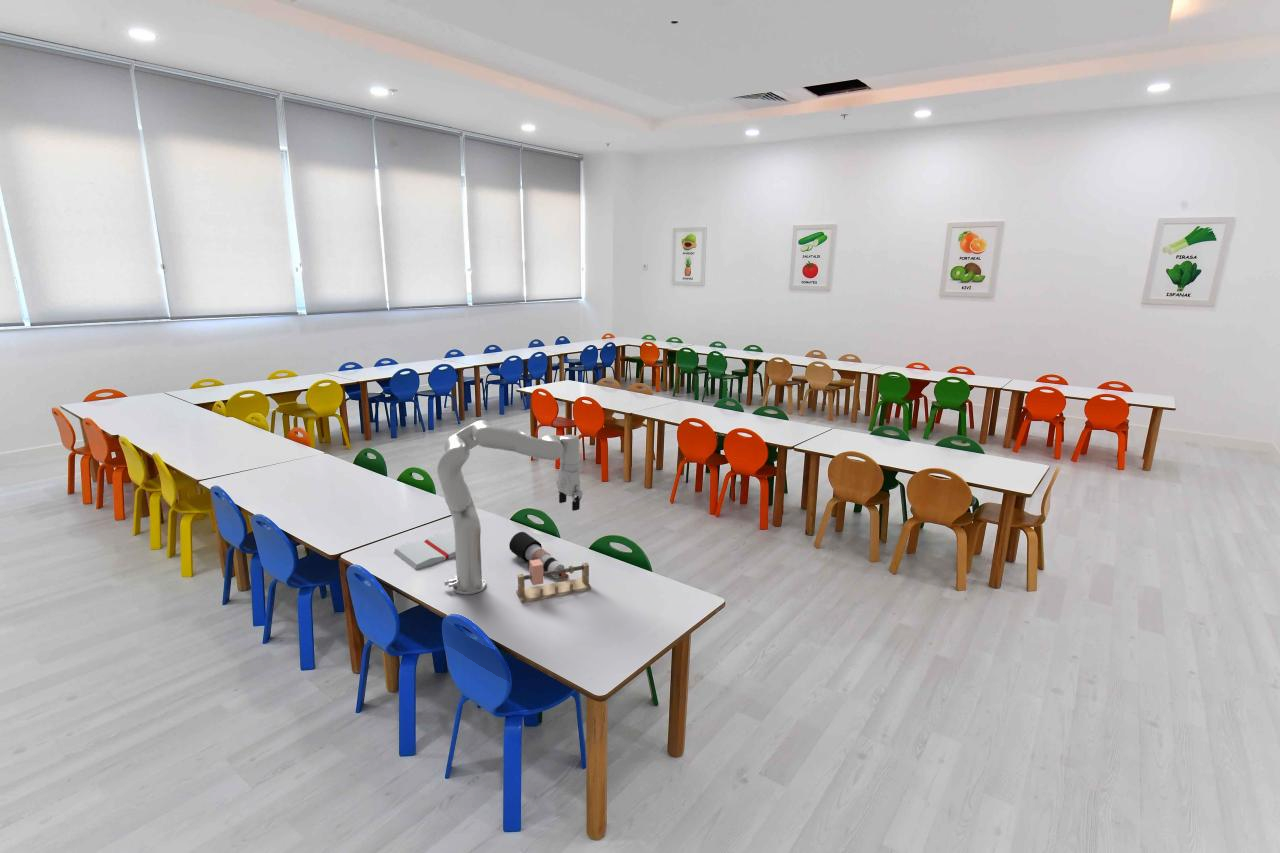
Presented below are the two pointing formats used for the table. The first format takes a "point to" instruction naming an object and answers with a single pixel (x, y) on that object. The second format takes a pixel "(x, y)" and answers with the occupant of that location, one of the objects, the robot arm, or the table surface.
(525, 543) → the black and grey cylinder
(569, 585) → the wooden test tube rack
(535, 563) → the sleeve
